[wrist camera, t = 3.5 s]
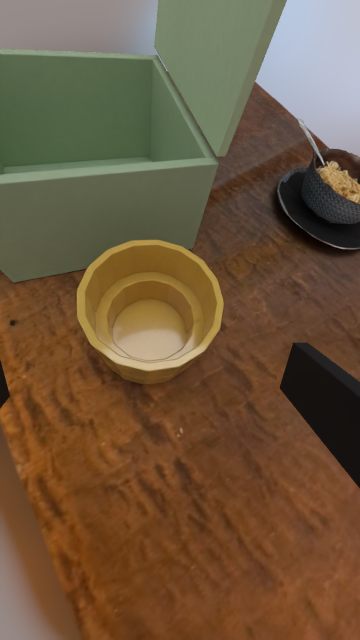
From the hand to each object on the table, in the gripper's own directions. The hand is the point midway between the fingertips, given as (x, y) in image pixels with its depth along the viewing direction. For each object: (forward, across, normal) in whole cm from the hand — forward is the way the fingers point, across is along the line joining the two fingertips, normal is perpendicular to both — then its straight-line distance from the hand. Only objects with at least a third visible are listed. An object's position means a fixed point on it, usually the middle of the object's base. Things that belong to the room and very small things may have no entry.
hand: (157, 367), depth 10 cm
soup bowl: (+24, +23, +9) cm, 35 cm away
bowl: (+11, 0, -4) cm, 11 cm away
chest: (+21, -6, +7) cm, 23 cm away
